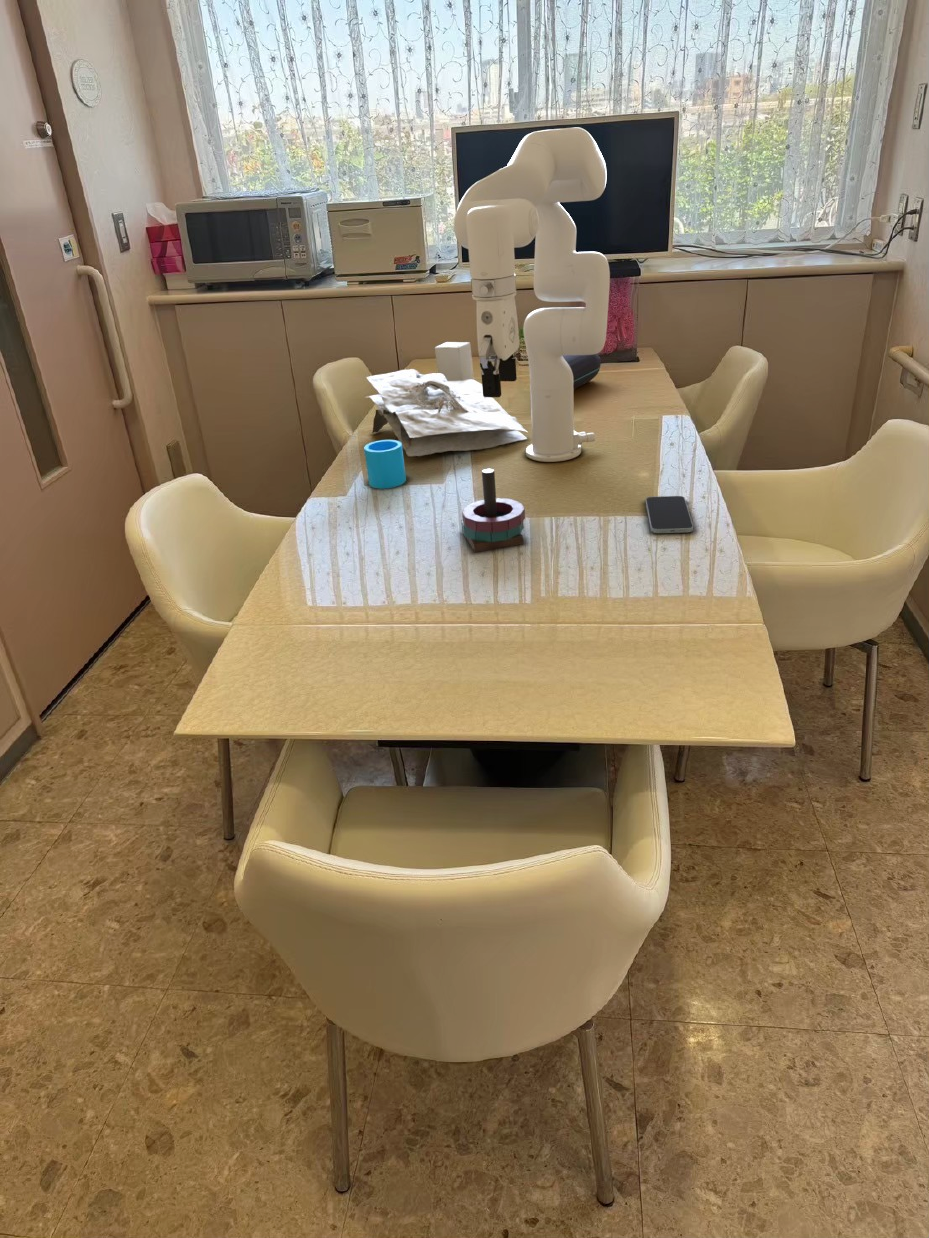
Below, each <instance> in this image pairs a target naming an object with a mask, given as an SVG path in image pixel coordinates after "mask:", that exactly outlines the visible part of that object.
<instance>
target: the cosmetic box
mask: <svg viewBox="0 0 929 1238" xmlns="http://www.w3.org/2000/svg"><path fill="white" fill-rule="evenodd" d="M434 353H435V361H436V369H437V373H441V374H443V375H444V376H445V377H446V379H447V381H459V380H460V381H463V380H469V379H472V380H475V377H474V369H473V358H472V348H471V342H469V341H468V342H467V341H465V342H463V341H462V342H461V341H460V342H459V341H458V342H457V341H446V342H443V343H442V344H439V345H437V346H435V347H434Z"/></svg>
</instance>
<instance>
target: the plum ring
mask: <svg viewBox="0 0 929 1238" xmlns="http://www.w3.org/2000/svg"><path fill="white" fill-rule="evenodd" d="M496 505H497V512H503V513H507V515H505V516H501V517H494V518H487V517H480V515H482V514H485V509H484V499H479V500H476V501H474V502H472V503H469V504H467V505H465V507H464V508H463V509H462V510H461V516H462V519H463V523H464V525H465V527H466V528H469V529H471V530H474V531H477V532H490V533H492V532H493V533H494V532H501V531H507V530H510V529H513V528H515V527H517V526H519V525H521V524H522V522H524V521H525V520H526V508H525V507H524V505H523V504H522V502H520V501H517V500H514V499H511V498H499V497H496Z"/></svg>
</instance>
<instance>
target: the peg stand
mask: <svg viewBox="0 0 929 1238" xmlns="http://www.w3.org/2000/svg"><path fill="white" fill-rule="evenodd" d="M495 475H496V474H495V469H493V468H484V469H482V470H481V479H482V480H481V481H482V492H483V500H484V509H485V517H487V518H494V517H497V505H496V498H497V491H496V490H497V489H496V476H495ZM465 538H466V540H467V542H468V544H469V545H470V547H471V548H472V550H473V552H474V553H478V552H484V551H490V550H495V549H500V548H501V549H503V548H507V547H514V546H520V545H524V536H523V535H522V532H521V533H520V534H519V535H516V536H514V537H512V538H510V539H507V540H502V541H495V542H492V541H491V542H484V541H475V540H472V539H470V538H467V537H465Z"/></svg>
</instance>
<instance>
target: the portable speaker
mask: <svg viewBox="0 0 929 1238" xmlns="http://www.w3.org/2000/svg"><path fill="white" fill-rule="evenodd" d="M563 358H564V359H565V360H566V362H567V363H568V365H569V366H570V368H571V370H572V373H573V390H575V389H577V388H579V387H581V386H583V385H585V384H586V383H589V382H591V381H592V380H593V379H594V378H595V377H596V376H597V375H599V372H600V370H601V365H602V364H601V363H602V362H601V357H600V356H599V353H597V354H593V355H564V356H563Z"/></svg>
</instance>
